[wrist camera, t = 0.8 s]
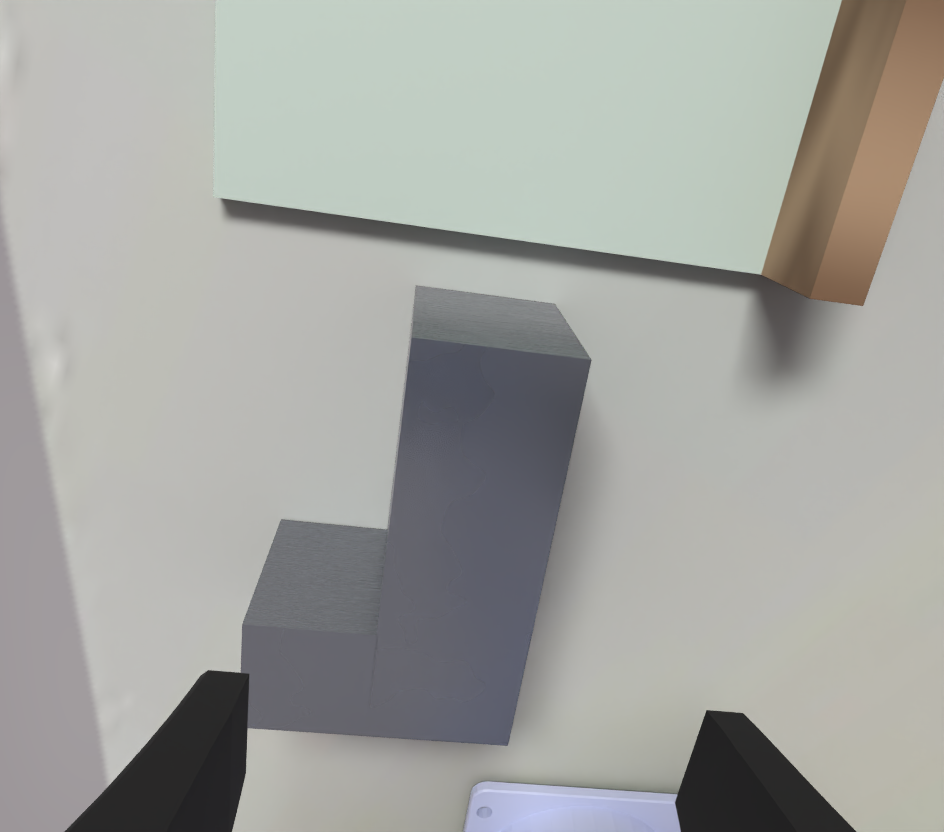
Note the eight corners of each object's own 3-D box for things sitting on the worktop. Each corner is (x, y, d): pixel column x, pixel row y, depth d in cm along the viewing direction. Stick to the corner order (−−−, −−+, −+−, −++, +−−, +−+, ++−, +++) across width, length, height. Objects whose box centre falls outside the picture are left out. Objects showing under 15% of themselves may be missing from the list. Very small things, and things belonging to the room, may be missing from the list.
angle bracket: (493, 626, 22) (507, 745, 18) (276, 608, 21) (238, 727, 17) (554, 304, 18) (591, 359, 14) (294, 269, 18) (252, 317, 13)
